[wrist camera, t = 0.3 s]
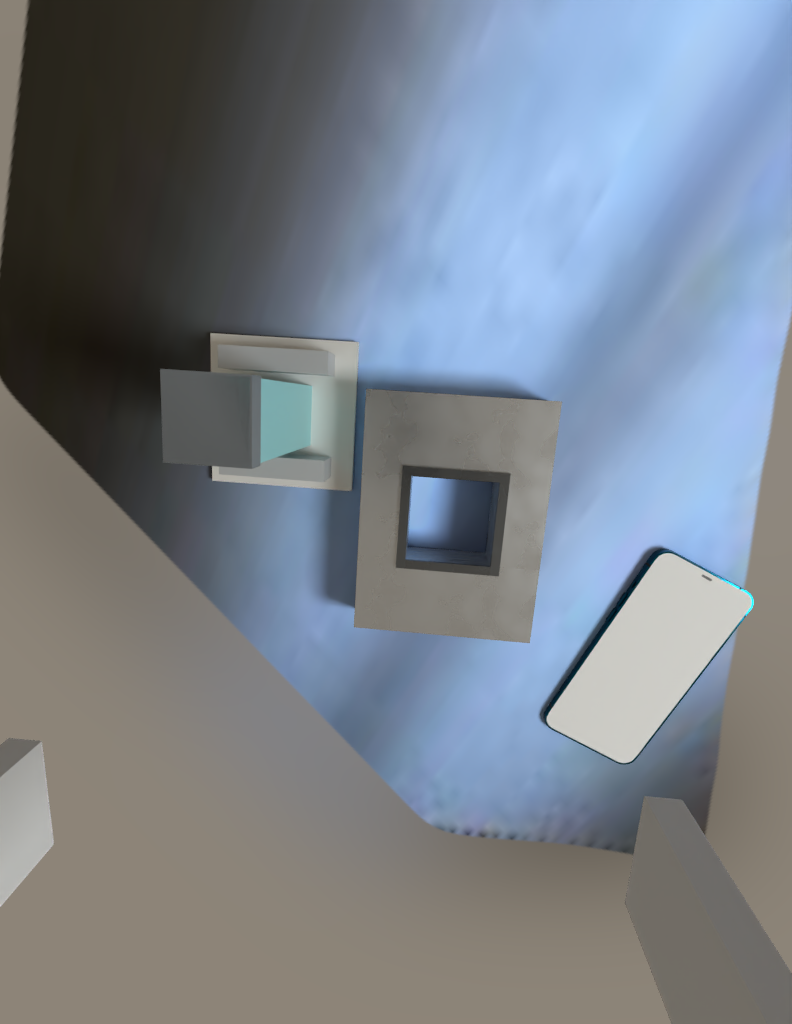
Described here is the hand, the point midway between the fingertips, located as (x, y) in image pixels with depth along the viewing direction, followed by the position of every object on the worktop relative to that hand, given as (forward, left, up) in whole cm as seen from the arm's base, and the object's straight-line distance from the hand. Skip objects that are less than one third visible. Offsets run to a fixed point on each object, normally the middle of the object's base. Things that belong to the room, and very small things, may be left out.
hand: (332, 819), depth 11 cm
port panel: (-2, +3, -26) cm, 26 cm away
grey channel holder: (-8, -9, -26) cm, 28 cm away
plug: (-8, -9, -25) cm, 28 cm away
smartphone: (+8, +18, -26) cm, 33 cm away
